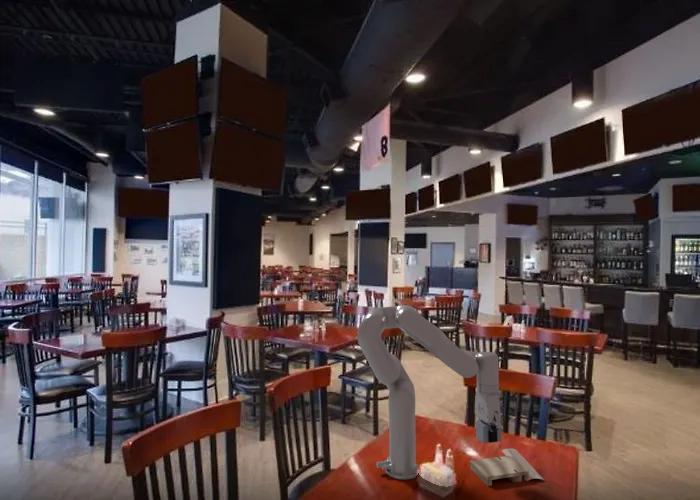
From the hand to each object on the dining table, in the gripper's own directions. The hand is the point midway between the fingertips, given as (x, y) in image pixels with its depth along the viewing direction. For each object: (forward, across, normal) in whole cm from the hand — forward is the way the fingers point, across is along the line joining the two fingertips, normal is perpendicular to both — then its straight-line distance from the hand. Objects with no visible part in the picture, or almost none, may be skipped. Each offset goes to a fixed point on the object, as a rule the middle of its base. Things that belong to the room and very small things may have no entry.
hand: (488, 438), depth 159 cm
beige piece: (+15, -4, +16) cm, 22 cm away
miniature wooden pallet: (+14, 0, +4) cm, 14 cm away
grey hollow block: (+1, 0, 0) cm, 1 cm away
